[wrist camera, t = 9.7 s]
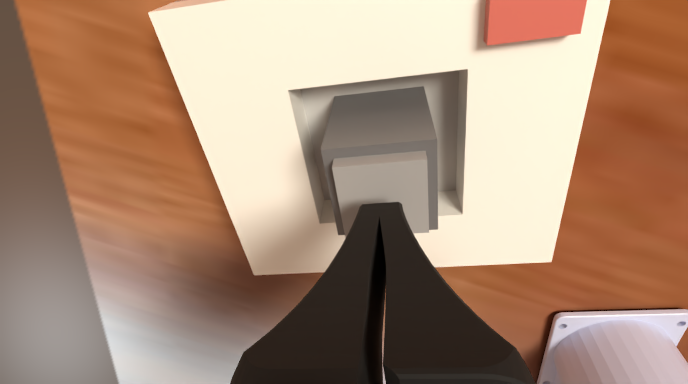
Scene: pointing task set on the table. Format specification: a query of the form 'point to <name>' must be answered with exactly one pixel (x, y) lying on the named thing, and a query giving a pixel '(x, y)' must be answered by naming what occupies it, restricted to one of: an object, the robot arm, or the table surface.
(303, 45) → the faceplate
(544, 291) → the table surface
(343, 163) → the plug
